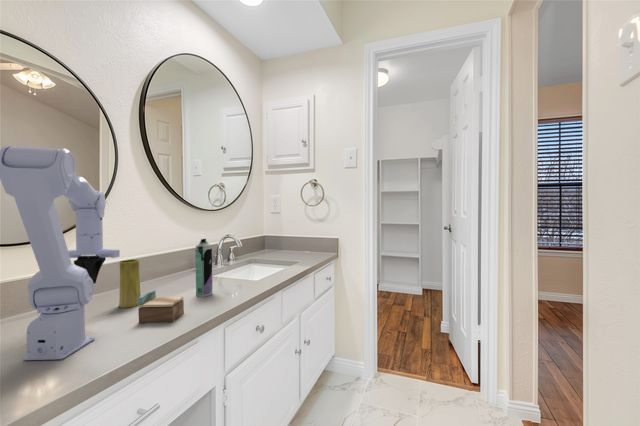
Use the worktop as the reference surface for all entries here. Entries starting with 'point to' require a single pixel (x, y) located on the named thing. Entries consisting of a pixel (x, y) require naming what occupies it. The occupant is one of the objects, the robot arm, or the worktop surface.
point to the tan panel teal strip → (157, 300)
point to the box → (161, 313)
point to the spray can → (203, 269)
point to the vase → (129, 283)
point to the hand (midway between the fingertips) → (90, 284)
